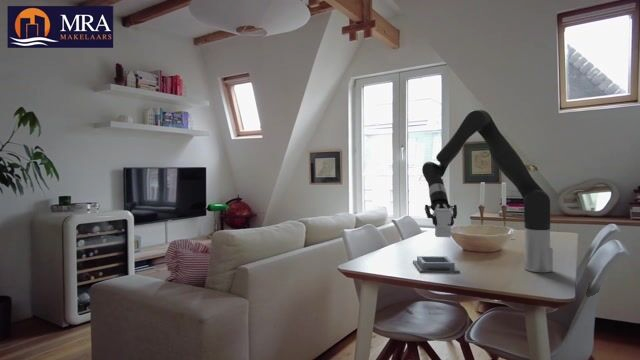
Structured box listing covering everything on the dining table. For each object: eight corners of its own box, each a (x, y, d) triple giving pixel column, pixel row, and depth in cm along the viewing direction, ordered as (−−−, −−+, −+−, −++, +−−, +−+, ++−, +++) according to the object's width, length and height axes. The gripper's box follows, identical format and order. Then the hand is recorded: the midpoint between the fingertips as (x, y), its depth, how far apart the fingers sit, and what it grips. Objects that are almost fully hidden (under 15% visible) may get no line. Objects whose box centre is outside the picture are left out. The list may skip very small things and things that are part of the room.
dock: (448, 262, 170) (448, 255, 170) (460, 273, 152) (459, 264, 152) (412, 262, 172) (412, 255, 172) (420, 272, 154) (419, 264, 154)
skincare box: (436, 237, 161) (436, 209, 161) (434, 235, 166) (434, 208, 165) (451, 237, 161) (451, 209, 160) (449, 235, 165) (449, 208, 165)
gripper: (423, 190, 171) (428, 219, 159) (455, 190, 169) (462, 219, 158) (421, 200, 176) (425, 230, 165) (452, 200, 175) (459, 230, 163)
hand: (443, 224), depth 161 cm, fingers closed on skincare box, 6 cm apart
